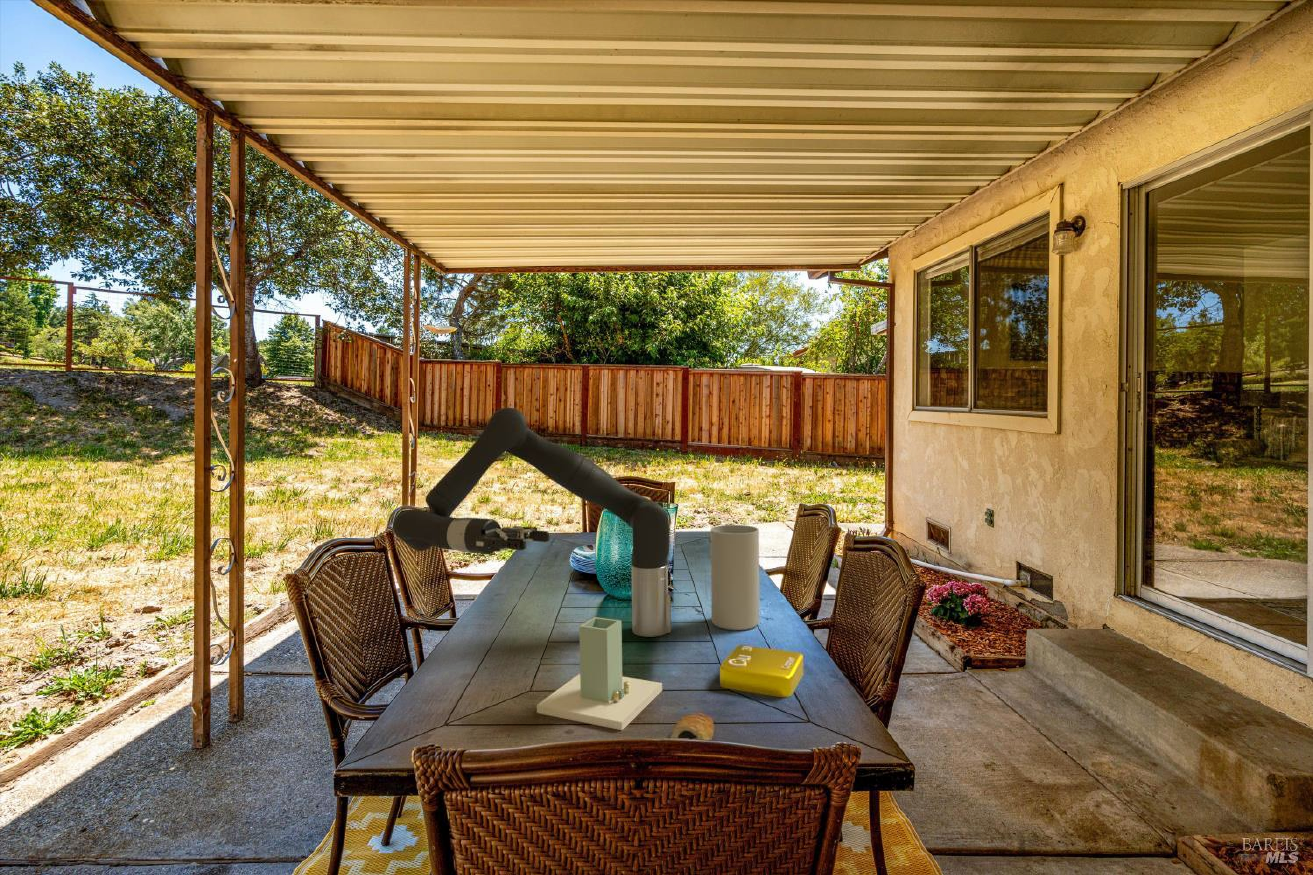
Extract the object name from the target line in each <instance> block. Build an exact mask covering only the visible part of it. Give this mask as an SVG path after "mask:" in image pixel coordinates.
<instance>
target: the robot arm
mask: <svg viewBox="0 0 1313 875" xmlns="http://www.w3.org/2000/svg"><path fill="white" fill-rule="evenodd" d="M505 452H506V453H508V454H510V455H511V456H514V457H517V458H518V459H520V460H522V461H523V462H525V463H527V464H529V465H531V466H532V467H533V468H535V469H536V470H538V471H539V472H540V473H542V475H545V476H546V477H547V478H548V479H550V480H552V481H553V482H554V483H555V484H558V485H559V486H560V487H561V488H564V489H565V490H567V491H568V492H569V493H572V495H575V496H577V497H579V498H580V499H582V500H584V501H586V502H588V503H591V504H592V505H595V506H597V507H600V508H602V509H605V510H607V511H609V512H610V513H612V514H613V515H615V516H616V517H618V518H619V519H621V520H622V521H623V522H624V523H625V524H627V525H628V526H629V527H630V528H631V529H632V552H631V557H630V561H631V562H630V564H631V566H630V567H631V617H632V618H631V625H632V627H631V628H632V630H631V631H632V633H633V634H634V635H636V636H638V637H644V638H646V637H649V638H650V637H651V638H652V637H659V636H660V637H661V636H663V635H666V634H670V633H671V632H672V623H671V622H672V621H671V619H672V618H671V617H672V616H671V612H672V611H671V595H670V594H669V587H668V585H669V578H668V577H669V576H668V573H669V572H668V570H669V569H668V568H669V566H668V562H669V560H668V557H669V553H670V520H669V516H668V515H669V514H668V513H667V511H666V510H665V508H664V507H662V505H660V504H659V503H657V502H656V501H653V500H651V499H650V498H646V497H644V496H643V495H640V494H638V493H636V492H634V491H633V490H630V489H629V488H628V487H626V486H624V485H622V484H621V483H620V482H619V481H618V480H617V479H615V478H614V476H612V475H610V474H609V473H608V472H607V471H606V470H604V469H603V468H602V467H600V466H599V465H598V464H596V463H595V462H593V461H592V460H590V459H588V458H587V457H585V456H584V455H582V454H580V453H578V452H576V451H575V450H572V449H571V448H570V449H569V448H567V447H565V446H561V445H560V444H557V443H553V442H552V441H548V440H546V439H545V438H543V437H541V436H540V435H539V434H538V433H536V432H535V431H533V430H532V429H531V428H529V427H528V423H527V418H526V417H525V416H524V414H523V413H522V412H521V411H520V410H519V409H517V408H513V407H502V408H500V409H497V411H495V412H494V413H492V415H491V416H490V418H489V419H488V422H487V424H486V426H485V428H484V429H483V430H482V433H481V434H480V436H479V437H478V438H477V439H476V440H475V442H474V443H473V444H472V446H471V447H470V448H469V450H468V451H466V453H465V454H464V455H463V456H462V457H460V459H459V460H458V461H457V462H456V463H455V464H454V466H452V467H451V468H450V470H448V471H447V472H446V473H445V474H444V476H443V477H442V478H441V479H440V480H439V481H438V482H437V483H436V484H435V485H434V487H433V488H432V489H430V491H429V492H428V493H427V495H426V496H425V499H424V500H425V503H426V505H427V507H428V511H424V510H421V509H407V510H405V511H402V512H400V513H399V514H398V515H397V516H396V517H395V519H394V520H393V523H392V531H393V533H394V535H395V536H396V537H397V538H398V539H399V540H401V541H402V542H403V543H404V544H406V545H407V546H408V547H410V548H411V549H412V550H414V551H416V552H423V551H426V550H429V549H430V548H432V547H436V548H437V549H442V550H451V551H457V552H462V553H472V554H480V555H481V554H482V555H492V554H493V553H495V552H496V553H499V552H501V551H507V550H517V551H523V550H526V548H527V542H538V543H539V542H542V543H547V542H549V541H550V533H549V531H547V530H538V527H535V526H519V525H518V526H517V525H515V526H512V527H510V526H503V527H501V525H500V524H499V522H498V521H497V520H496V519H493V518H492V519H491V518H482V517H452V514H453V512H455V511H456V509H457V508H458V507H459V506H460V505H461V504H462V503H463V501H464V500H465V499H466V498H467V496H469V494H470V493H471V492H472V490H473V489H474V488H475V487H476V485H477V484H478V483H479V481H480V480H481V479H482V478H483V476H484V474H485V473H486V472H487V471H488V470H489V468H490V467H491V466H492V465H493V464H494V463H495V462H496V461H497V459H499V457H501V456H502V455H503V454H505Z"/></svg>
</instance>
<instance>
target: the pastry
mask: <svg viewBox="0 0 1313 875" xmlns="http://www.w3.org/2000/svg"><path fill="white" fill-rule="evenodd" d="M714 733H715V727H714V720H713V718H712V717H711V716H709V715H706V714H703V713H701V712H700V713H699V712H696V713H693V714H688V715H686V716H685V715H684V716H683V717H681V718H680V719H679V720H678V721H677V722H676V723H675V724H674V725H673V730H672V734H671V735H670V739H671V738H689V739H701V740H711V741H712V739H713V737H714Z"/></svg>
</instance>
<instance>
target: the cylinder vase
mask: <svg viewBox="0 0 1313 875" xmlns="http://www.w3.org/2000/svg"><path fill="white" fill-rule="evenodd" d="M759 539H760V530H759V527H755V526H750V525H746V524H745V525H743V524H727V525H726V524H725V525H717V526H713V527H711V528H710V581H711V582H710V589H711V590H710V591H711V594H710V596H711V598H710V599H711V606H710V608H711V610H710V611H711V623H712V624H713V625H714V626H715V627H717V628H720V629H723V630H729V631H746V630H750V629H753V628H755V627H757V626H758V625H759V623H760V540H759Z"/></svg>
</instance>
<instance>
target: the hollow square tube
mask: <svg viewBox="0 0 1313 875" xmlns="http://www.w3.org/2000/svg"><path fill="white" fill-rule="evenodd" d="M578 627H579V628H578V629H579V630H578V631H579V668H580V669H579V672H580V673H579V674H580V685H581V698H585V699H590V700H595V701H601V702H606V703H609V702H610V701H611V700H612V699H613V691H618V692H619V699H622V698H623V697H624V689H623V688H622V676H623V646H622V645H623V641H622V640H623V637H622V636H623V635H622V634H623V632H622V629H623V628H622V620H619V619H611V618H605V617H597V616H594V617H593V618H591V619H589V620H588V621H586V622H584V623H583V624H581V625H579V626H578Z"/></svg>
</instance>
